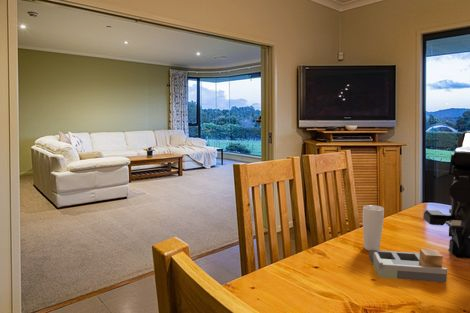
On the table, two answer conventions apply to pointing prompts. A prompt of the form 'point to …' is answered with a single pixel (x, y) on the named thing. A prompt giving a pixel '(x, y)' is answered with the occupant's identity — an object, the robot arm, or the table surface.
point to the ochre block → (430, 258)
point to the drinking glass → (372, 226)
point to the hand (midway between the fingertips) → (460, 247)
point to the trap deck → (404, 266)
